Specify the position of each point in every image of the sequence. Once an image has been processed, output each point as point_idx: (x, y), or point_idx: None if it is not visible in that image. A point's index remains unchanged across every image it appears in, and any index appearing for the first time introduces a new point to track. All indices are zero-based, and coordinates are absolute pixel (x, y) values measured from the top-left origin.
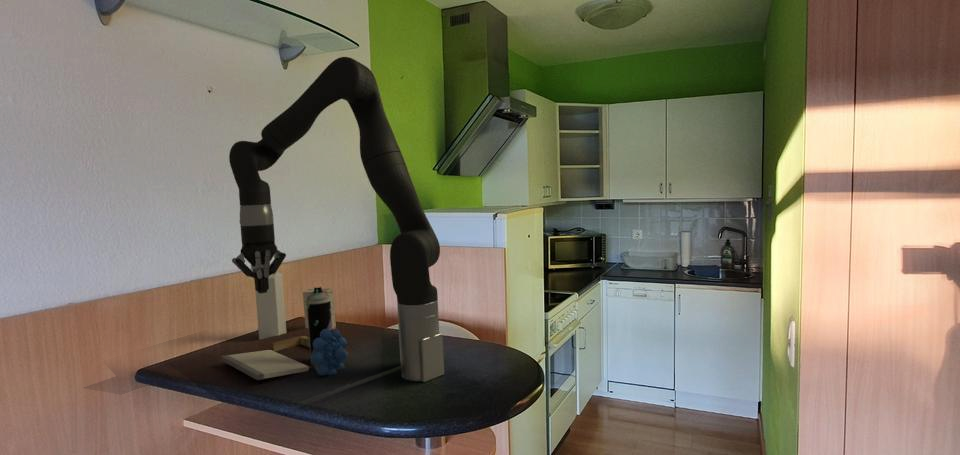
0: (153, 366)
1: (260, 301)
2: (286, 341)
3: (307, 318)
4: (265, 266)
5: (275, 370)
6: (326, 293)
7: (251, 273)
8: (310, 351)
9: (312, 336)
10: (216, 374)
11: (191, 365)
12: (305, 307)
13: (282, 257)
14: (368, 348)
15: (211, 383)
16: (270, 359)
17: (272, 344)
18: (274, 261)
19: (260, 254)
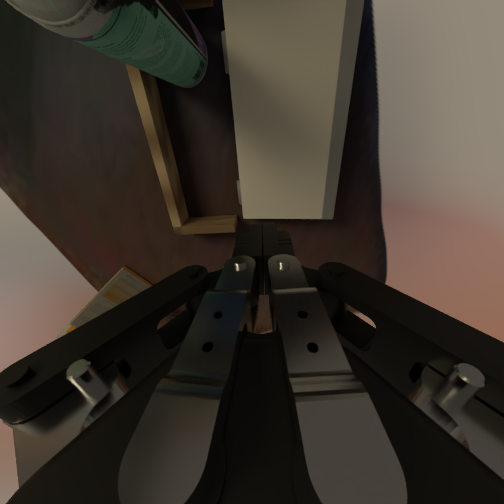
0: None
1: None
2: (209, 224)
3: None
4: (241, 295)
5: (306, 3)
6: (76, 320)
7: (343, 276)
8: (196, 48)
9: (176, 2)
10: (338, 202)
11: None
12: None
13: (51, 357)
14: (66, 107)
15: (368, 160)
16: (271, 138)
17: (235, 228)
18: (146, 356)
19: (272, 442)
